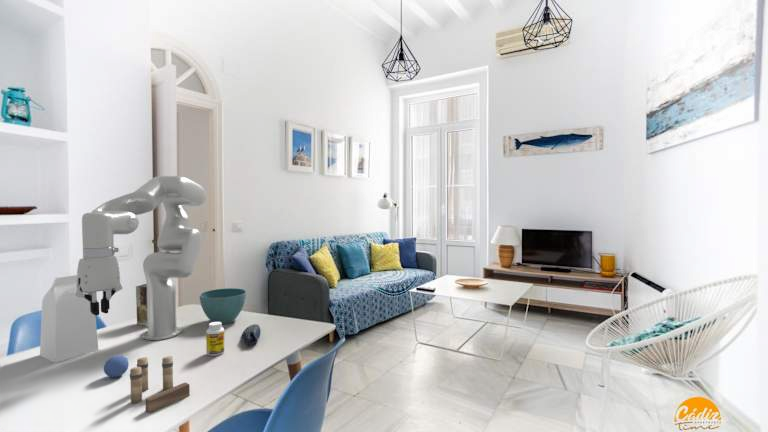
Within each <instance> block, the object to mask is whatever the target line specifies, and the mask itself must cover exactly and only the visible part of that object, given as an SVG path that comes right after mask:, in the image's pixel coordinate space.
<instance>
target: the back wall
mask: <svg viewBox="0 0 768 432" xmlns="http://www.w3.org/2000/svg"><path fill="white" fill-rule="evenodd" d="M190 392H191V391H190V383H188V382H183V383H180V384H178V385H174V386H173V388H170V389H168V390H165V391H164V390H162V391H161V392H159V393H155V394H153V395H151V396H149V397H146V398H145V400H144V401H145V411H146V412H147V413H149V414H151V413H154V412H156V411H158V410H160V409H162V408H164V407H167V406H169V405H171V404H172V405H173V404H174V403H176V402H179V401H181V400H182V399H185V398H187V397H189V396H190V395H191V394H190Z"/></svg>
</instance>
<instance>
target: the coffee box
mask: <svg viewBox="0 0 768 432" xmlns="http://www.w3.org/2000/svg"><path fill="white" fill-rule="evenodd" d="M135 303H136V306H135V307H136V324H137V325H140V326H146V324H147V323H148V317H147V283H145V284H141V285H136V286H135Z"/></svg>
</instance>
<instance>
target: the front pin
mask: <svg viewBox="0 0 768 432" xmlns="http://www.w3.org/2000/svg"><path fill="white" fill-rule="evenodd" d="M148 358H149V357H146V356H145V357H139V358H138V359H136V367H141V371H142V393H143V392H147V391H148V390H149V361H148ZM146 390H147V391H146Z"/></svg>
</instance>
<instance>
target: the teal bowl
mask: <svg viewBox="0 0 768 432" xmlns="http://www.w3.org/2000/svg"><path fill="white" fill-rule="evenodd" d="M246 296H247V290H245V289H243V288H234V287H232V288H231V287H229V288H227V287H226V288H218V289H217V288H216V289H211V290H206V291H203V292H201V293H199V302H200V305H201V308H202V311H203V312H204V314H205V316H206V318H208V319H209V321H210V322H211V323H212V322H221V323H222V325H226V324H227V325H228V324H230V323H232V322H234V321H235V320H236V319H237V318H238V316H239V315H240V314H241V312H242V310H243V309H244V305H245V301H246Z"/></svg>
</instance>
